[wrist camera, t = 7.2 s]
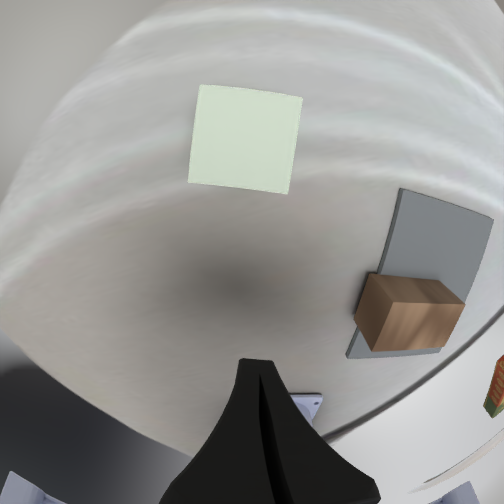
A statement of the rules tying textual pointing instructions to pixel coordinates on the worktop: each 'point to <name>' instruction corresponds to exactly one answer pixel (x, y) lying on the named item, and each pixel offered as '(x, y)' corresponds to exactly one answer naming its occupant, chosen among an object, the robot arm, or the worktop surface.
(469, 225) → the mat
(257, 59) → the worktop surface
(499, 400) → the carton
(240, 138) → the sage block
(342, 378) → the worktop surface
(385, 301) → the walnut block
